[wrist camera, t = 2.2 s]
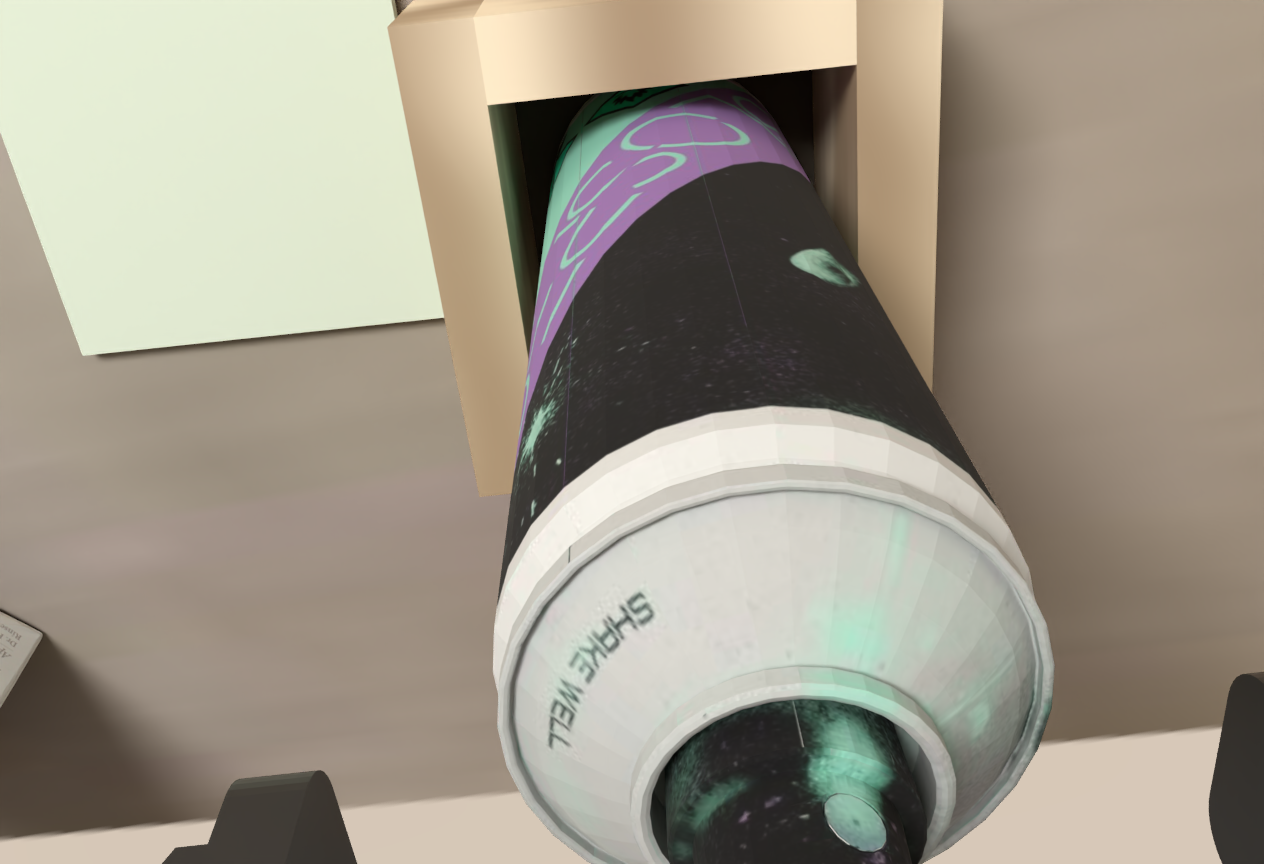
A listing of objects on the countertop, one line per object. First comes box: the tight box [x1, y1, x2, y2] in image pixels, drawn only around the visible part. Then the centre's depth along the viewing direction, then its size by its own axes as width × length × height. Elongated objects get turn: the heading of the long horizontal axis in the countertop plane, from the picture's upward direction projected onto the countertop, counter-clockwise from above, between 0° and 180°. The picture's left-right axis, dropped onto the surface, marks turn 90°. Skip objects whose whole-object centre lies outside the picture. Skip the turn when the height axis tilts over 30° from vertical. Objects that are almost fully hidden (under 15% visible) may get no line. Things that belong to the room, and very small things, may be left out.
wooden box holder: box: [387, 0, 943, 497], centre depth 24 cm, size 10×10×5 cm
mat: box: [0, 0, 444, 356], centre depth 25 cm, size 9×9×1 cm
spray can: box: [493, 79, 1055, 864], centre depth 17 cm, size 6×6×20 cm
